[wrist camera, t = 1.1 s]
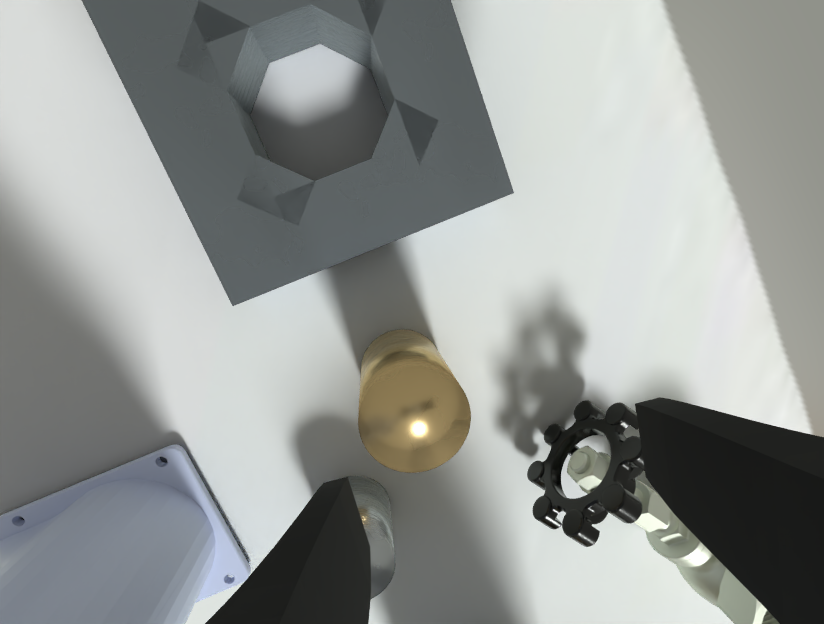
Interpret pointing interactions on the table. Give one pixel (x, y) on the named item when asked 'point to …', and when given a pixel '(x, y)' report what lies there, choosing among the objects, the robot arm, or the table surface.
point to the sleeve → (376, 529)
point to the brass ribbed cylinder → (410, 404)
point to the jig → (244, 152)
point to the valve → (629, 505)
